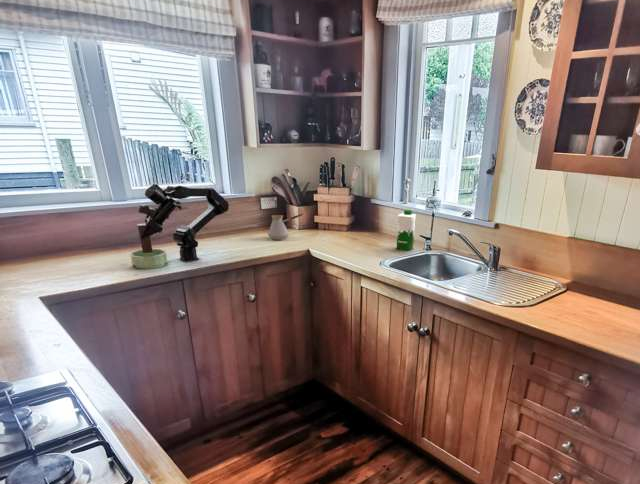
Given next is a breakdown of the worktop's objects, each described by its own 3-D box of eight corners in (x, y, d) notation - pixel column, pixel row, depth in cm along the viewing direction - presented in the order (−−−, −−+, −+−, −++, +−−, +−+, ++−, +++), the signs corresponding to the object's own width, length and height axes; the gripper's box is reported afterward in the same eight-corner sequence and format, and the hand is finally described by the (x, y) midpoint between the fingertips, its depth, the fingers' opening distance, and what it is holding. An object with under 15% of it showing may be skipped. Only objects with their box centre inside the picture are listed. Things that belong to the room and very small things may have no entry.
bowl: (157, 258, 219) (155, 247, 216) (174, 264, 211) (172, 252, 208) (126, 264, 208) (123, 252, 206) (142, 271, 200) (140, 258, 198)
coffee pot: (264, 240, 260) (263, 212, 254) (273, 236, 270) (271, 209, 264) (301, 243, 256) (300, 215, 250) (308, 238, 267) (307, 212, 260)
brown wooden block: (152, 250, 209) (147, 223, 204) (152, 252, 206) (147, 225, 201) (142, 251, 208) (137, 223, 202) (142, 253, 204) (137, 225, 199)
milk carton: (414, 247, 255) (417, 210, 247) (409, 251, 247) (412, 212, 239) (399, 245, 258) (401, 208, 249) (394, 249, 250) (396, 211, 242)
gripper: (146, 194, 206) (123, 220, 206) (149, 200, 191) (124, 229, 191) (168, 211, 213) (146, 237, 213) (172, 218, 198) (149, 246, 198)
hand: (141, 237), depth 203 cm, fingers closed on brown wooden block, 4 cm apart
